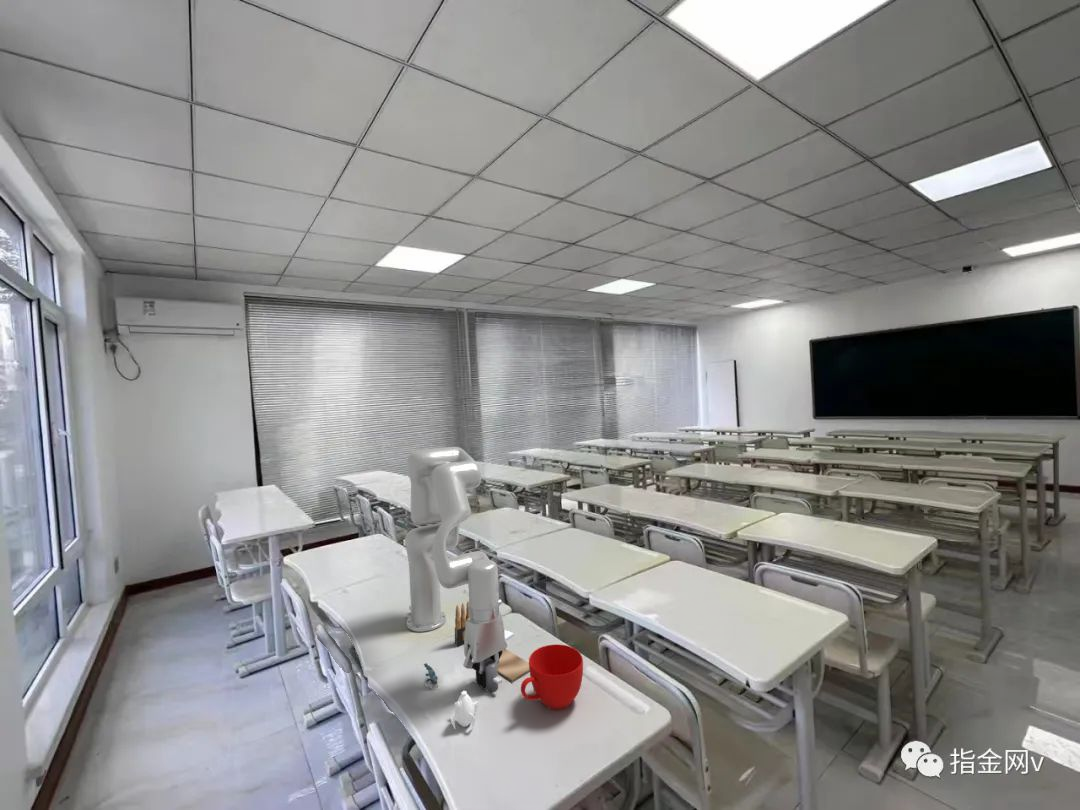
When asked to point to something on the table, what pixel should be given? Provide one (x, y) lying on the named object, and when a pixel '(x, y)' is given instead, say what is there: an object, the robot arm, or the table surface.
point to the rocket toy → (464, 711)
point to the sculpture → (431, 677)
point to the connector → (491, 675)
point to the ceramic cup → (554, 675)
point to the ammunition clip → (461, 624)
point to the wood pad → (512, 666)
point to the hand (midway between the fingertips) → (487, 681)
